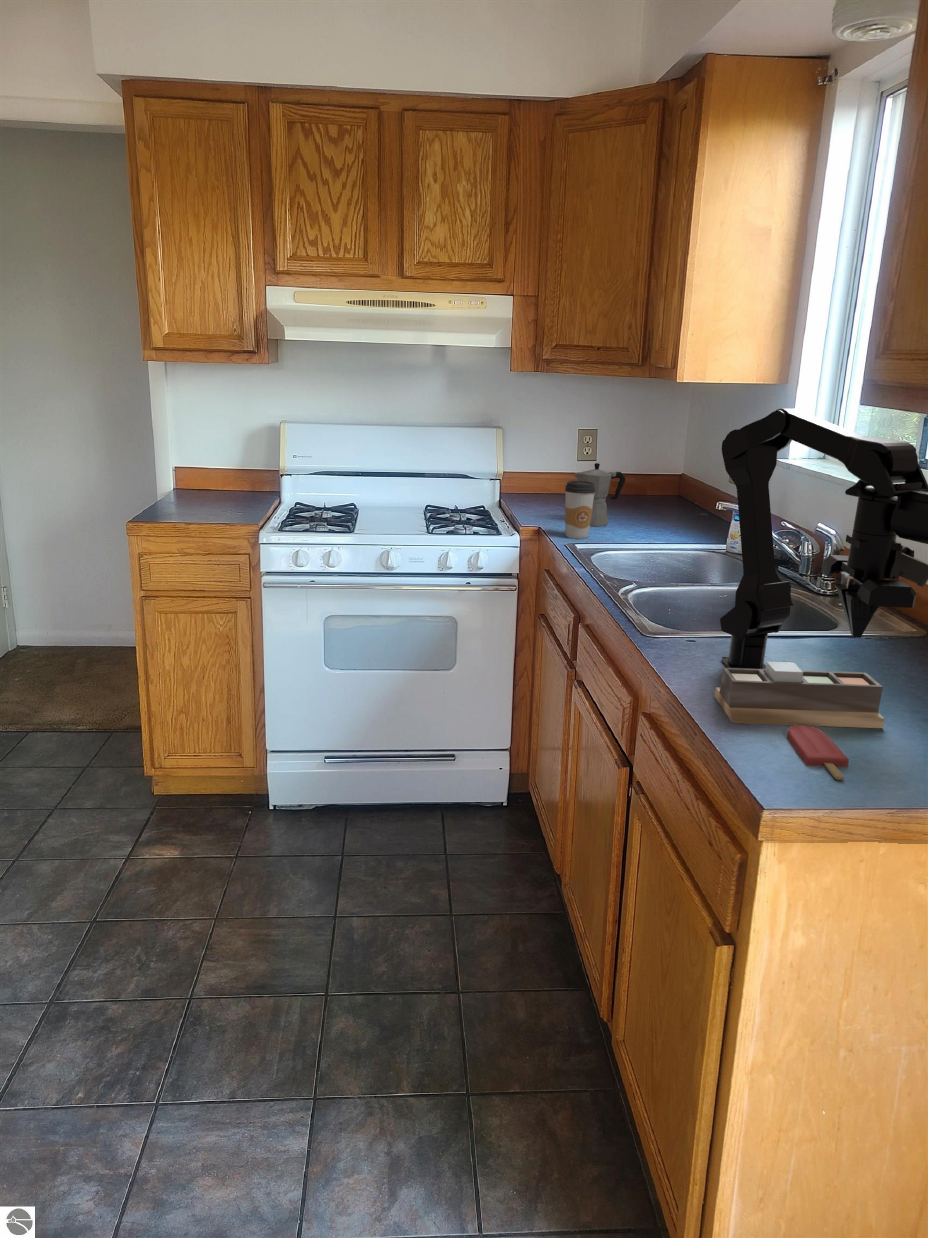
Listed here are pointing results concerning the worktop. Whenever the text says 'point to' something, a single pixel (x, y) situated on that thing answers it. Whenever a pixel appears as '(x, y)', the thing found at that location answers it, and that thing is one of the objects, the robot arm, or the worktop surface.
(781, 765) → the worktop surface
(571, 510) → the coffee cup
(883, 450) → the robot arm
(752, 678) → the ivory key
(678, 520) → the worktop surface
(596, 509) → the coffeepot
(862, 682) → the terracotta key
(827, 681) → the sage key
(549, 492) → the worktop surface
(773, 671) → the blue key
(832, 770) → the popsicle
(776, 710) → the brown long open box
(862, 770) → the worktop surface
